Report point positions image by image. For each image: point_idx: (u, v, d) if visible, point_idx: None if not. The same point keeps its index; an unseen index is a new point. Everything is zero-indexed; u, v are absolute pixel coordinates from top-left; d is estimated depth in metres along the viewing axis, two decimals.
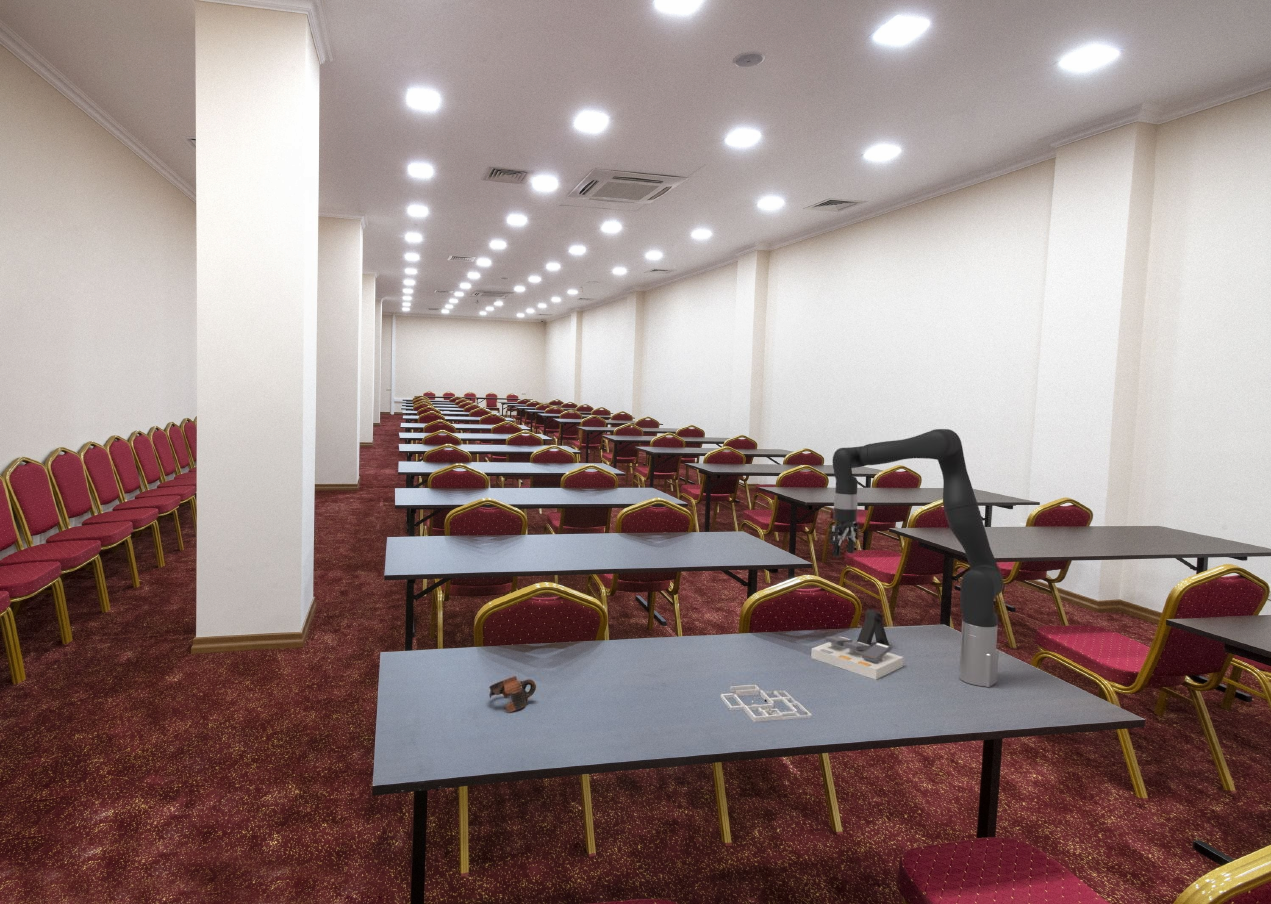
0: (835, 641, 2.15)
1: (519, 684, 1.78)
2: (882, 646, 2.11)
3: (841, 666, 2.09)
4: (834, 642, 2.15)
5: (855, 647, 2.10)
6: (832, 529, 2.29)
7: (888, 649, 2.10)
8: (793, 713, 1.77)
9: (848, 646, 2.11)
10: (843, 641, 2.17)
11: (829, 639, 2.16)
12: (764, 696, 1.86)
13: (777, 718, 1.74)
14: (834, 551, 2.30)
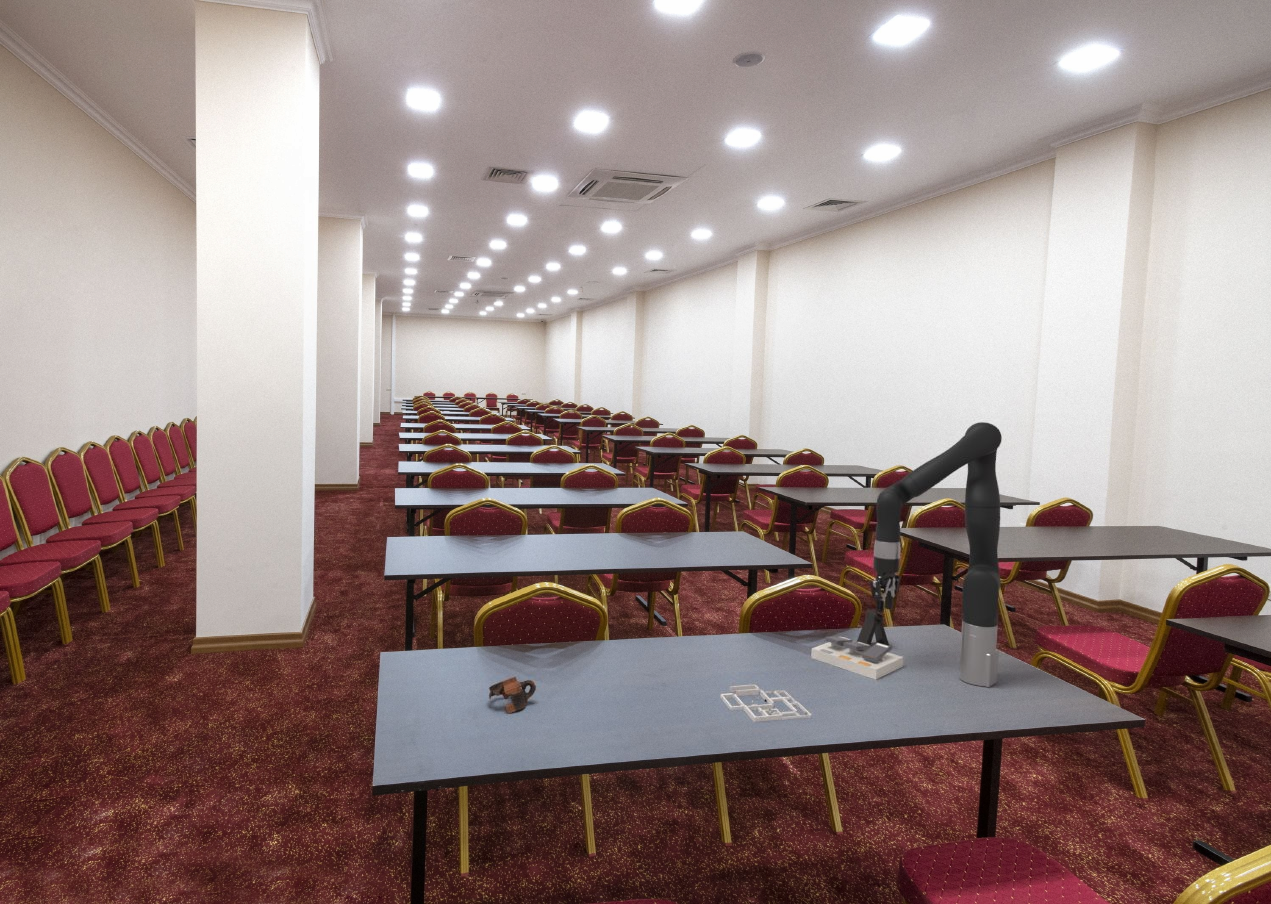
0: (835, 641, 2.15)
1: (519, 685, 1.78)
2: (882, 646, 2.11)
3: (841, 666, 2.09)
4: (834, 642, 2.15)
5: (855, 647, 2.10)
6: (873, 585, 2.06)
7: (888, 649, 2.10)
8: (793, 713, 1.77)
9: (848, 646, 2.11)
10: (843, 641, 2.17)
11: (829, 639, 2.16)
12: (764, 696, 1.86)
13: (777, 718, 1.74)
14: (877, 607, 2.08)
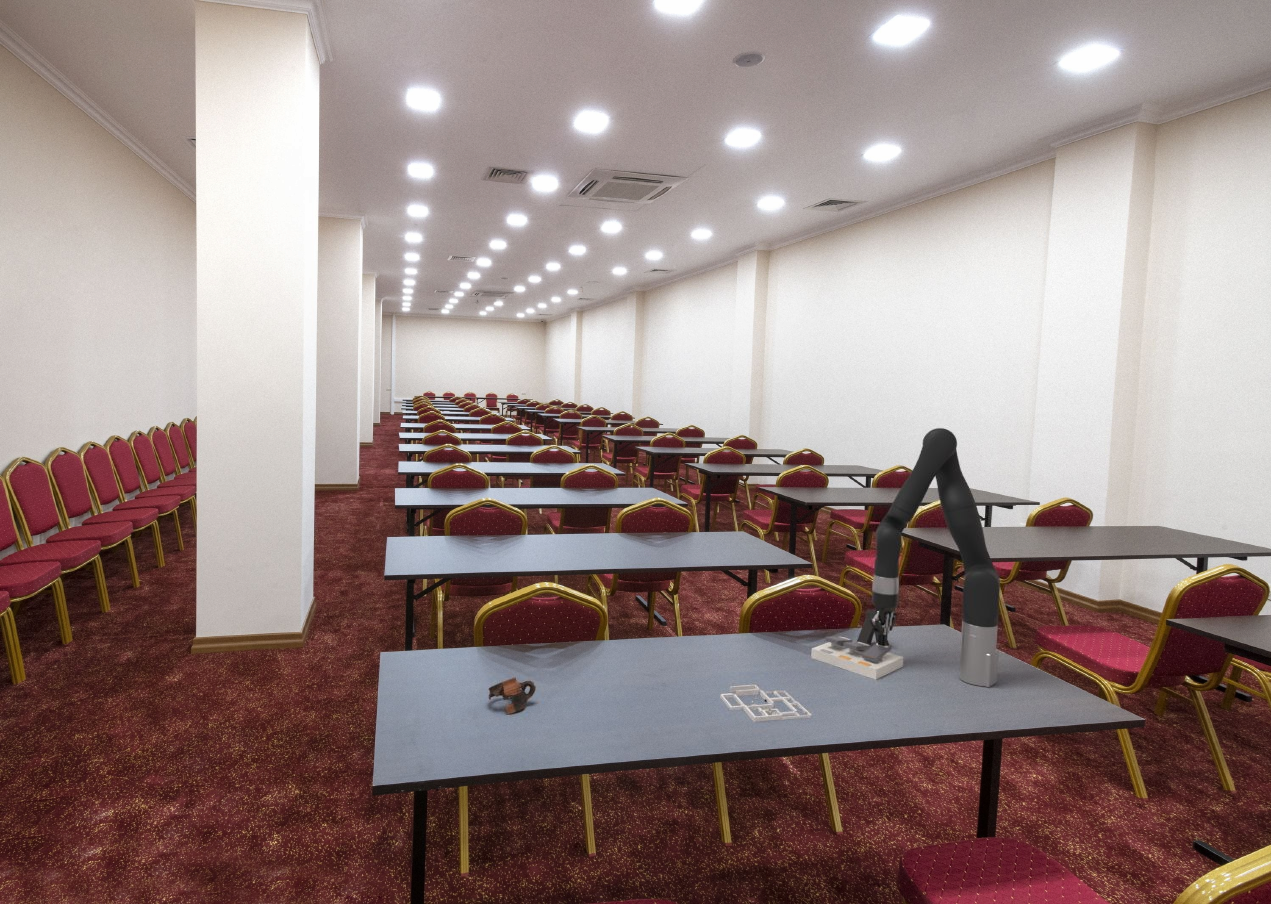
0: (835, 641, 2.15)
1: (518, 685, 1.78)
2: (882, 646, 2.11)
3: (841, 666, 2.09)
4: (834, 642, 2.15)
5: (855, 647, 2.10)
6: (872, 623, 2.08)
7: (888, 649, 2.10)
8: (793, 713, 1.77)
9: (848, 646, 2.11)
10: (843, 641, 2.17)
11: (829, 639, 2.16)
12: (764, 696, 1.86)
13: (777, 718, 1.74)
14: (879, 641, 2.11)
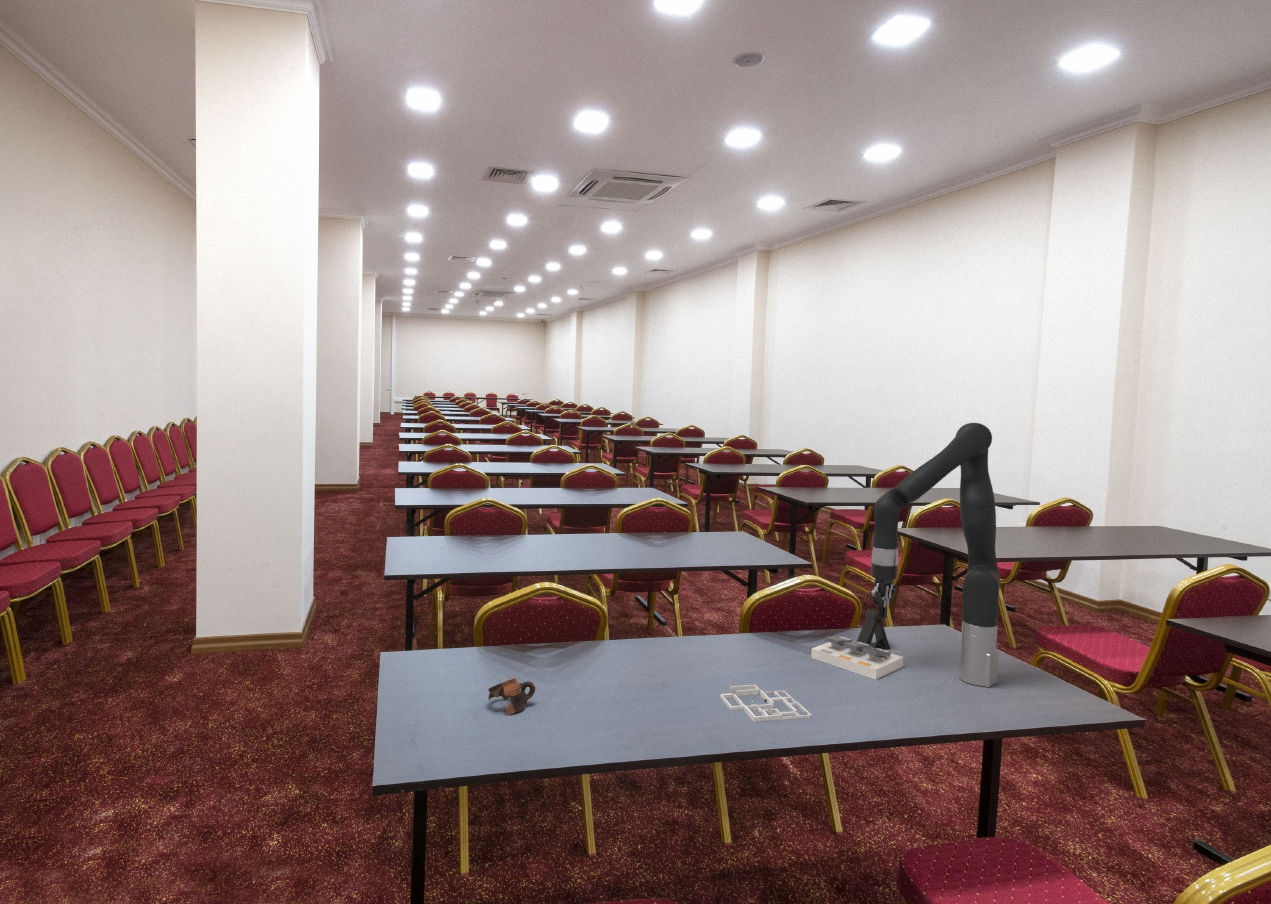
0: (835, 641, 2.15)
1: (518, 686, 1.77)
2: (883, 650, 2.11)
3: (841, 666, 2.09)
4: (834, 642, 2.15)
5: (855, 647, 2.10)
6: (872, 595, 2.07)
7: (888, 653, 2.10)
8: (793, 713, 1.77)
9: (848, 646, 2.11)
10: (843, 641, 2.17)
11: (829, 639, 2.16)
12: (764, 696, 1.86)
13: (777, 718, 1.74)
14: (879, 613, 2.10)
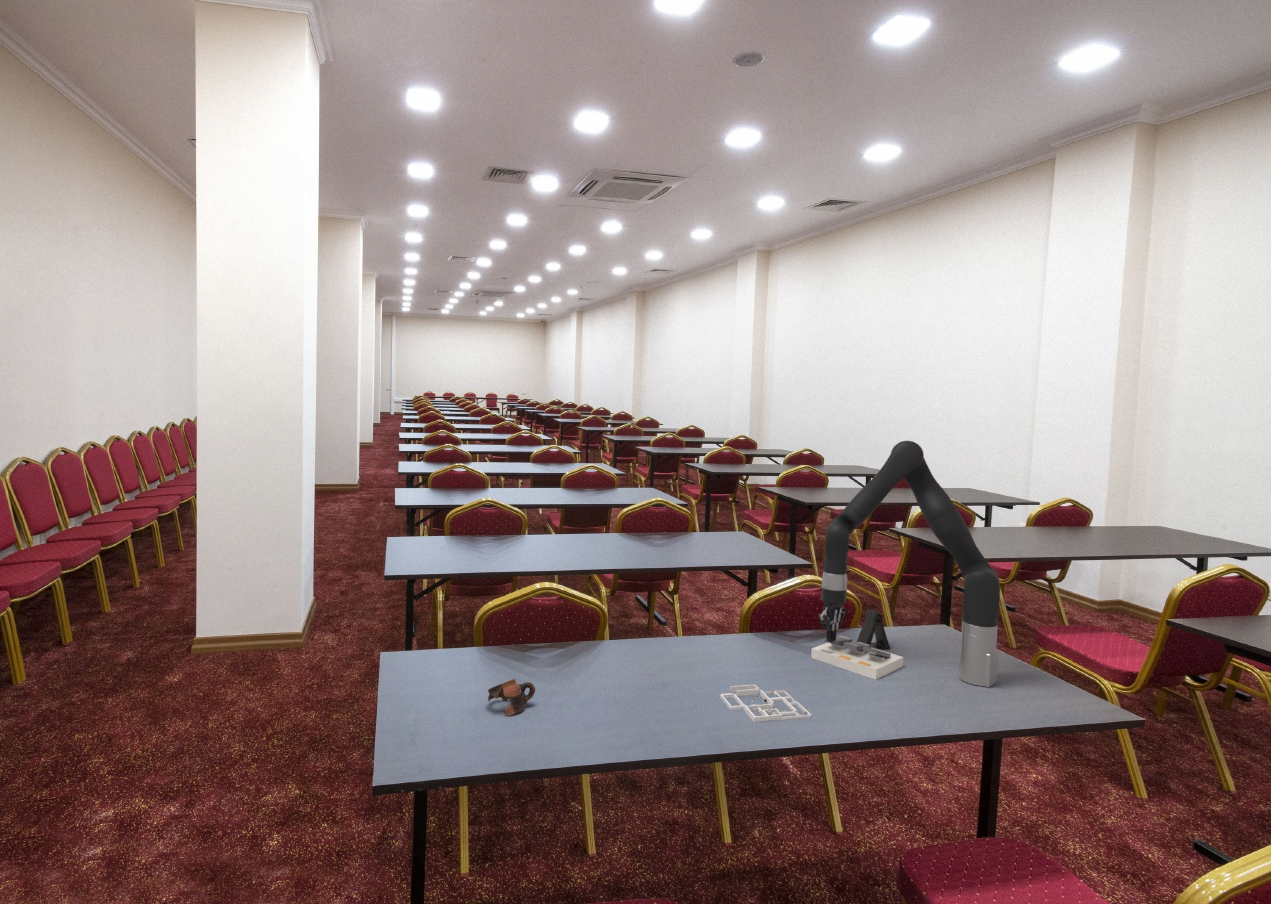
0: (835, 642, 2.15)
1: (518, 687, 1.77)
2: (883, 651, 2.11)
3: (841, 666, 2.09)
4: (834, 643, 2.15)
5: (855, 647, 2.10)
6: (821, 618, 2.12)
7: (888, 655, 2.10)
8: (793, 713, 1.77)
9: (848, 646, 2.11)
10: (843, 641, 2.17)
11: None
12: (764, 696, 1.86)
13: (777, 718, 1.74)
14: (827, 636, 2.15)
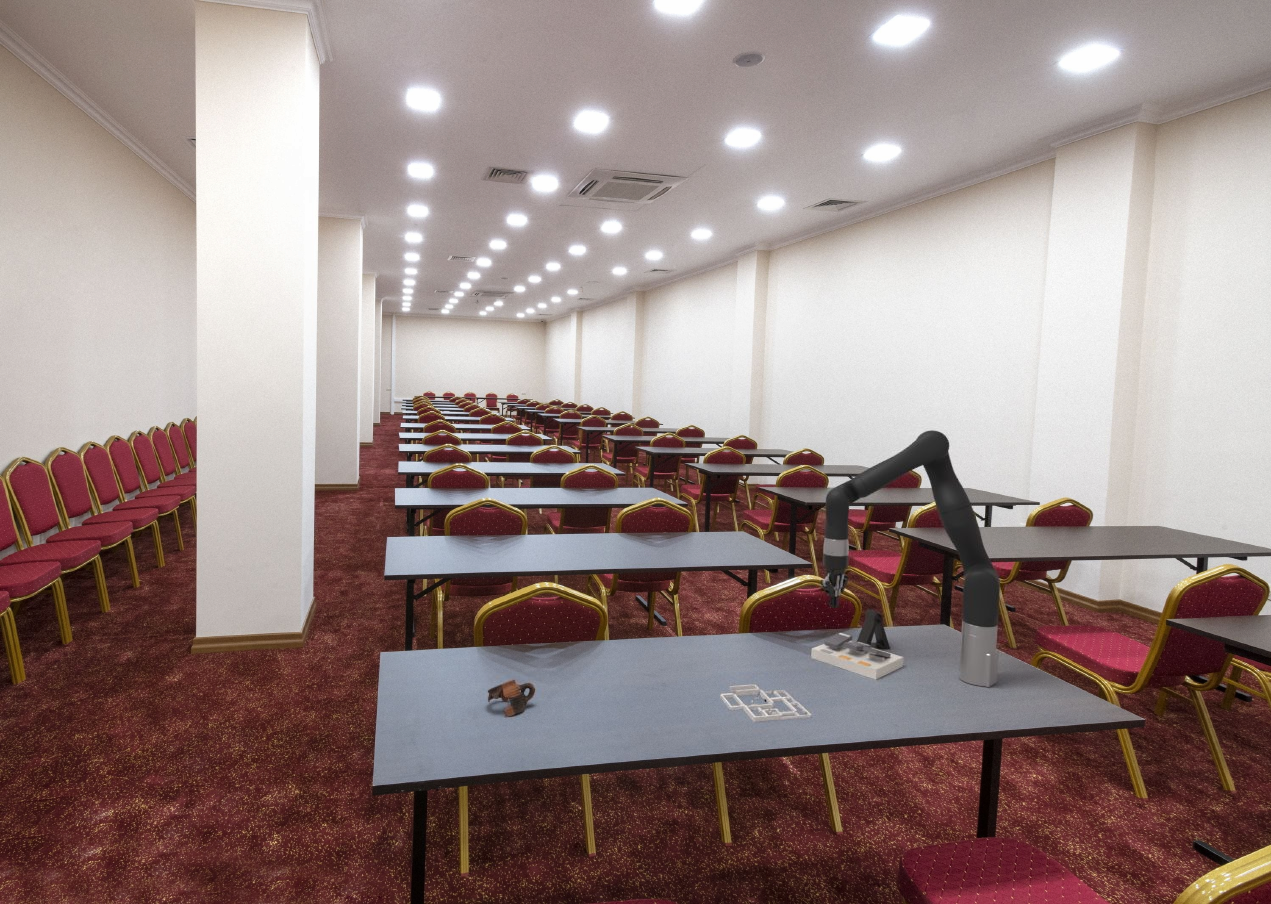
0: (834, 646, 2.15)
1: (518, 688, 1.76)
2: (883, 651, 2.11)
3: (841, 666, 2.09)
4: (834, 646, 2.15)
5: (855, 647, 2.10)
6: (823, 585, 2.12)
7: (888, 654, 2.10)
8: (793, 713, 1.77)
9: (848, 646, 2.11)
10: (842, 642, 2.17)
11: (828, 644, 2.16)
12: (764, 696, 1.86)
13: (777, 718, 1.74)
14: (831, 602, 2.15)
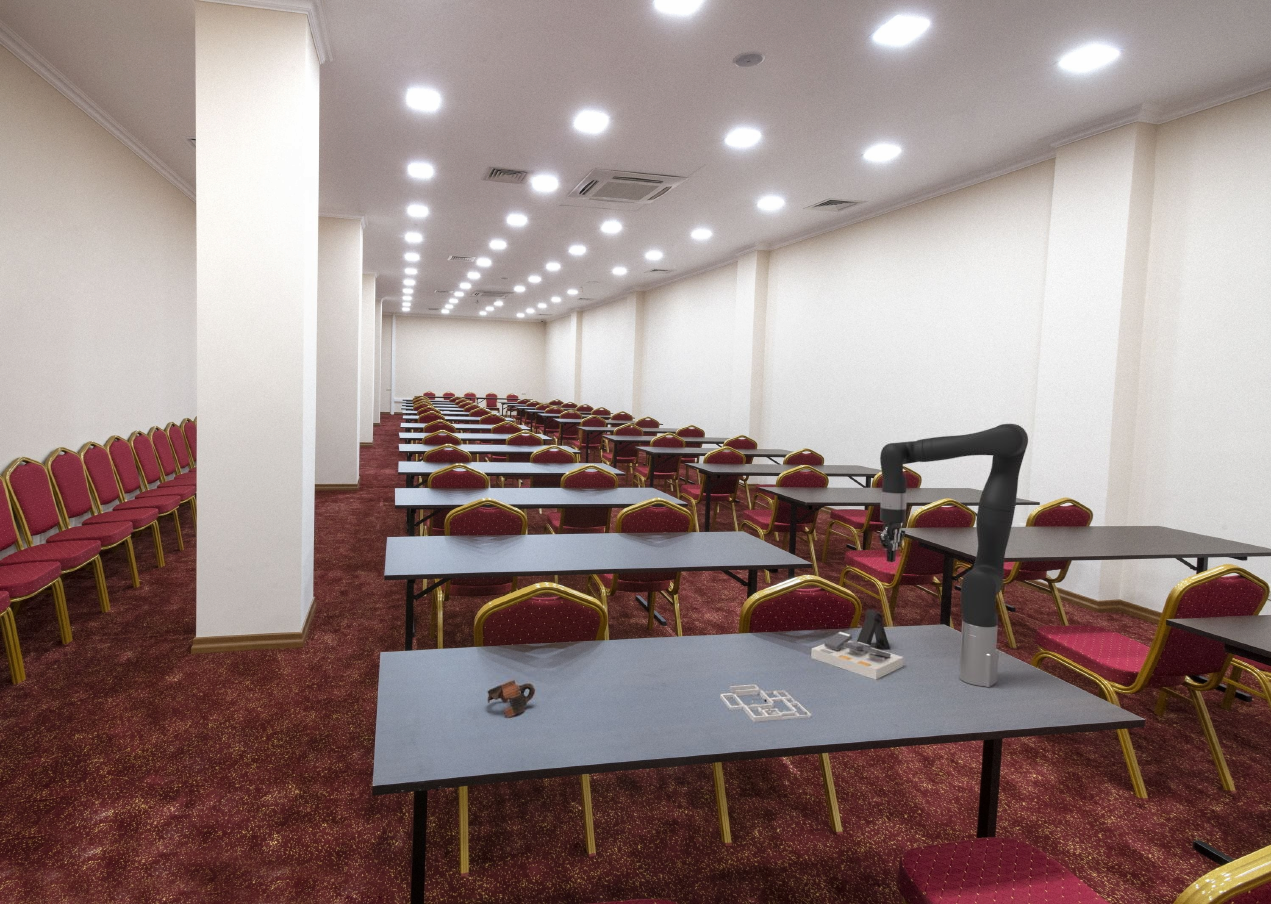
0: (834, 647, 2.15)
1: (518, 688, 1.76)
2: (883, 651, 2.11)
3: (841, 666, 2.09)
4: (834, 648, 2.15)
5: (855, 647, 2.10)
6: (881, 538, 2.13)
7: (888, 654, 2.10)
8: (793, 713, 1.77)
9: (848, 646, 2.11)
10: (842, 642, 2.16)
11: (828, 645, 2.16)
12: (764, 696, 1.86)
13: (777, 718, 1.74)
14: (888, 557, 2.16)
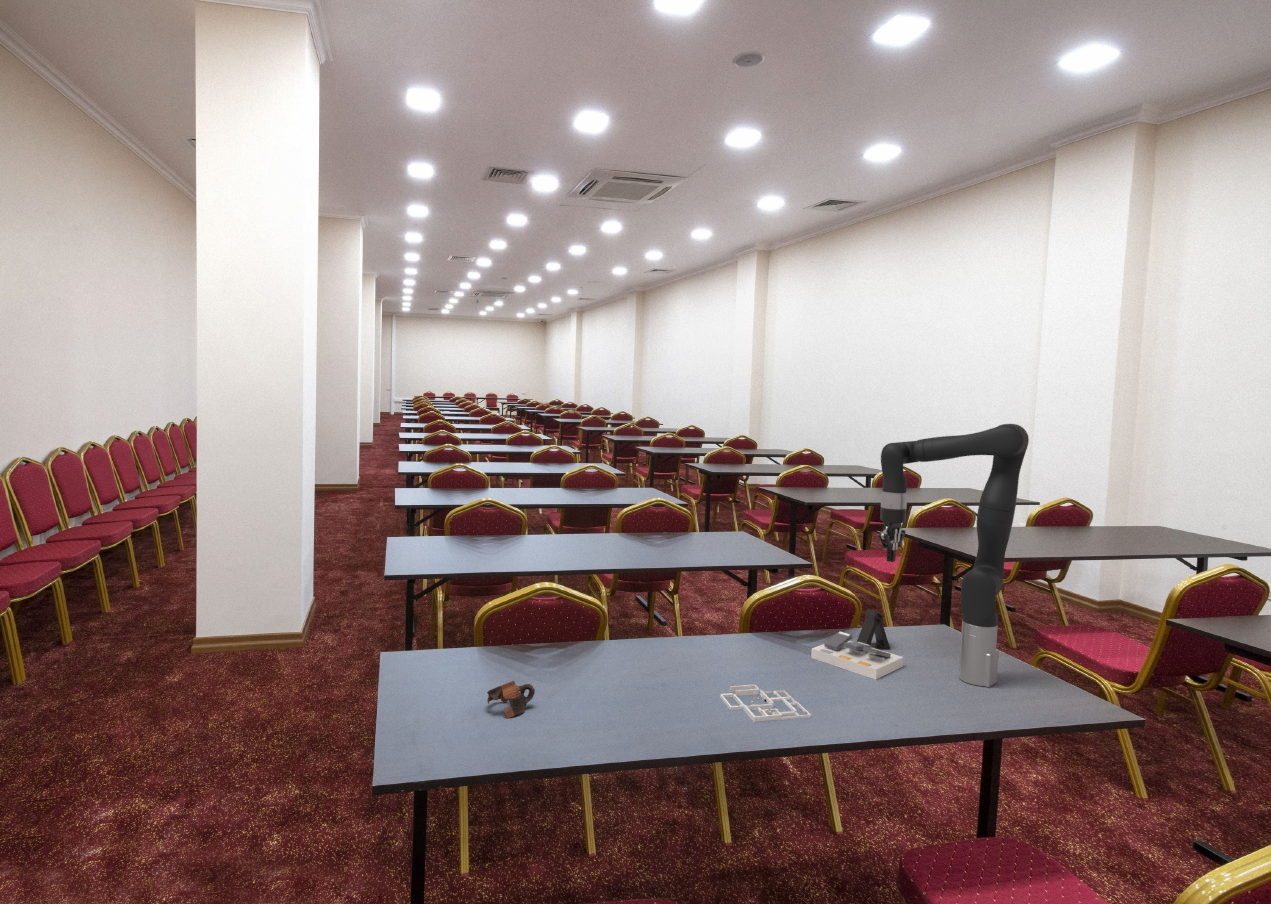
0: (834, 647, 2.15)
1: (518, 689, 1.75)
2: (883, 651, 2.11)
3: (841, 666, 2.09)
4: (834, 648, 2.15)
5: (855, 647, 2.10)
6: (881, 538, 2.13)
7: (888, 654, 2.10)
8: (793, 713, 1.77)
9: (848, 646, 2.11)
10: (842, 643, 2.16)
11: (828, 645, 2.16)
12: (764, 696, 1.86)
13: (777, 718, 1.74)
14: (888, 556, 2.16)
